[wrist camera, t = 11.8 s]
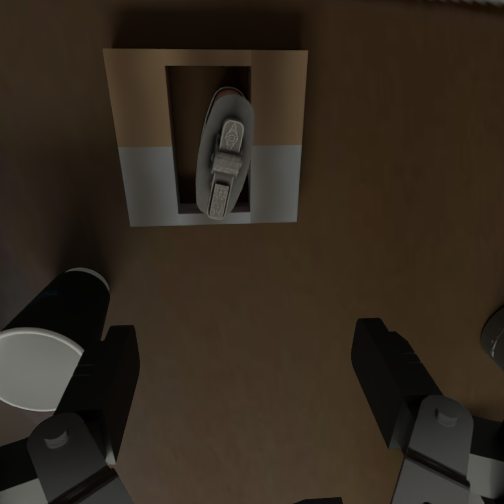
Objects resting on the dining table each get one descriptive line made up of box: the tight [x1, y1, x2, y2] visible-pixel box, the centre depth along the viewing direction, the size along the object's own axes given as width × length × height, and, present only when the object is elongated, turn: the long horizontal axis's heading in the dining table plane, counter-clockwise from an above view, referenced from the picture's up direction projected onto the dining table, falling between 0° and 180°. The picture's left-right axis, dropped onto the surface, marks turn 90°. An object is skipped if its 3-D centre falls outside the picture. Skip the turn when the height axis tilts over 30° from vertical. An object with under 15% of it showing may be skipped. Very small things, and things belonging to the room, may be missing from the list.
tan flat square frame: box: [103, 49, 308, 227], centre depth 30 cm, size 14×13×2 cm
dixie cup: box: [0, 268, 110, 411], centre depth 31 cm, size 8×8×11 cm
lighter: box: [196, 86, 255, 220], centre depth 26 cm, size 8×3×10 cm, turn 166°
